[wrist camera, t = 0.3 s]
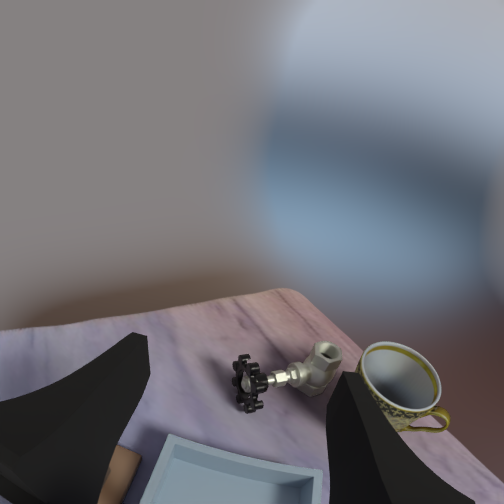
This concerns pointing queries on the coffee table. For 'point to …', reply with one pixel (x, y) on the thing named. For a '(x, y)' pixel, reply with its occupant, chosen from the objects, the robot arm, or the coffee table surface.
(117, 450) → the stud block
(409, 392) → the ceramic cup
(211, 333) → the coffee table surface
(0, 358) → the coffee table surface
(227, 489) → the bin
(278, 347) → the coffee table surface
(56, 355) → the coffee table surface
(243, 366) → the valve
